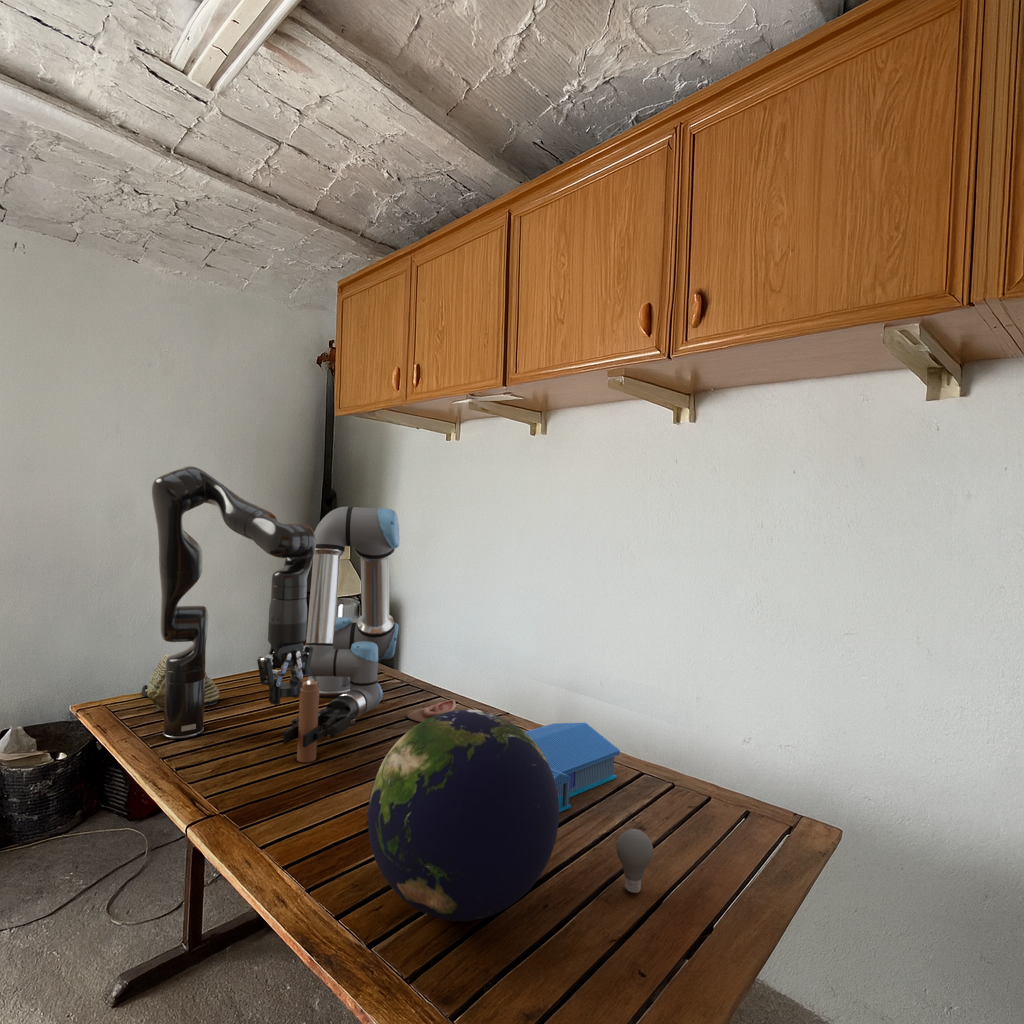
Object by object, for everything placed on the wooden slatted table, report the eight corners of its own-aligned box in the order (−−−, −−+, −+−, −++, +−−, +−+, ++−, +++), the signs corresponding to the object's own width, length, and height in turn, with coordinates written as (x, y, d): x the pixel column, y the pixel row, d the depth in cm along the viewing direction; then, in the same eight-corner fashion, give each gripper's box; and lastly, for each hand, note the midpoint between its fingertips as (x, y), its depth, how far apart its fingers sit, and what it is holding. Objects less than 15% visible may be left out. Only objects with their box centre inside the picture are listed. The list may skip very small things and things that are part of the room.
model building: (501, 837, 120) (504, 785, 120) (427, 790, 139) (429, 744, 138) (628, 782, 147) (630, 739, 147) (552, 748, 165) (553, 710, 165)
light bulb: (610, 879, 108) (613, 822, 108) (644, 879, 109) (647, 822, 109) (619, 902, 102) (622, 840, 102) (655, 901, 103) (658, 840, 103)
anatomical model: (403, 706, 181) (417, 694, 192) (402, 720, 181) (416, 707, 192) (447, 711, 178) (459, 699, 189) (447, 725, 178) (458, 712, 189)
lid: (301, 694, 132) (302, 685, 132) (279, 699, 129) (279, 690, 129) (289, 689, 136) (289, 680, 136) (267, 693, 132) (267, 684, 132)
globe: (322, 932, 92) (330, 728, 92) (425, 835, 120) (432, 678, 119) (512, 1001, 81) (522, 769, 81) (577, 877, 109) (585, 703, 108)
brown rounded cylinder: (296, 763, 150) (300, 685, 149) (296, 756, 154) (300, 680, 154) (316, 761, 151) (320, 684, 151) (315, 754, 155) (319, 679, 155)
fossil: (144, 707, 182) (145, 655, 182) (212, 696, 194) (213, 647, 194) (151, 716, 175) (153, 662, 175) (221, 703, 188) (223, 653, 188)
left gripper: (276, 626, 124) (272, 713, 124) (325, 616, 137) (322, 694, 137) (247, 622, 127) (244, 706, 127) (298, 612, 140) (295, 688, 140)
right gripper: (374, 727, 167) (327, 761, 145) (316, 718, 172) (261, 750, 149) (376, 698, 167) (328, 728, 145) (317, 691, 172) (262, 718, 149)
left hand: (284, 699), depth 132 cm, fingers closed on lid, 5 cm apart
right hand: (294, 739), depth 147 cm, fingers closed on brown rounded cylinder, 4 cm apart
